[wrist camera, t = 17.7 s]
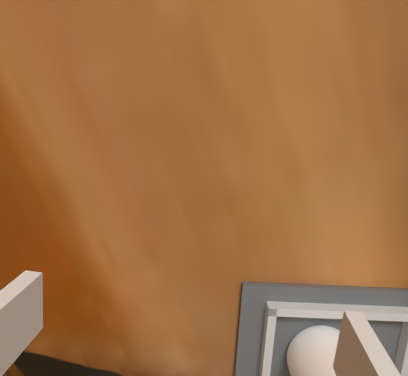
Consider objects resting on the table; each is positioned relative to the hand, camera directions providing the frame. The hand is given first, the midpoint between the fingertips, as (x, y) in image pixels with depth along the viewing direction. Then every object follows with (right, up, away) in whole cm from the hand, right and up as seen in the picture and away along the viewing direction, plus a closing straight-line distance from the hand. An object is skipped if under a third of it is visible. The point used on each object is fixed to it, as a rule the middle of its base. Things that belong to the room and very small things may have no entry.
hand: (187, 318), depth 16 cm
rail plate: (+17, -15, +31) cm, 38 cm away
